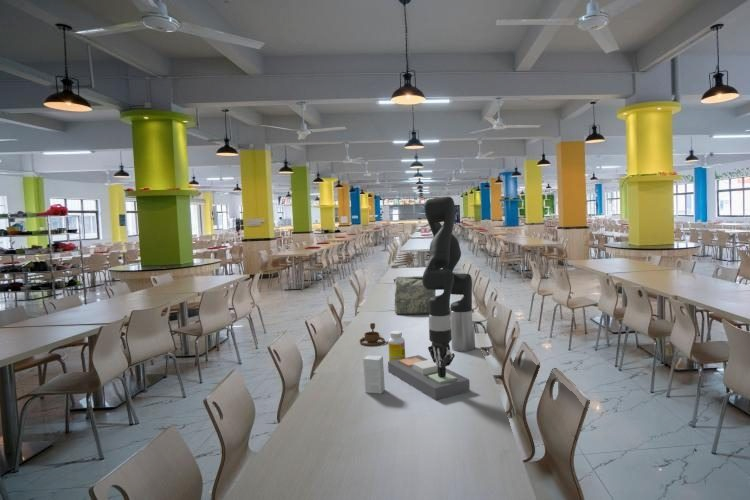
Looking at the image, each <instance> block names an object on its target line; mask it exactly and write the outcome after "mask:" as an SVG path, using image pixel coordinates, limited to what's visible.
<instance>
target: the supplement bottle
mask: <svg viewBox="0 0 750 500" xmlns="http://www.w3.org/2000/svg"><path fill="white" fill-rule="evenodd" d="M389 335H390V338H389V339H388V340H387V342H388V344H387V345H388V362H389V361H394V360H399V359H403V358H406V345H405V338H403V337H402V335H403V332H402V331H401V330H392V331H390V333H389Z"/></svg>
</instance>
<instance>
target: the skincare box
mask: <svg viewBox="0 0 750 500" xmlns="http://www.w3.org/2000/svg"><path fill="white" fill-rule="evenodd" d="M362 360H363V376H364V377H363V378H364V391H365V393H367V394H369V393H370V394H382V393H383V392H384V391H385V389H386V387H385V385H386V384H385V370H384V356H382V355H366V356H365V357H364V358H363V359H362Z"/></svg>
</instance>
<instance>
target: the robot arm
mask: <svg viewBox="0 0 750 500" xmlns="http://www.w3.org/2000/svg"><path fill="white" fill-rule="evenodd" d="M454 201H455V200H454V199H453V198H452V197H451V196H441V197H435V198H429V199H426V200H425V202H424V204H423V205H424V206H423V209H424V214H425V217H426V221H427V223H428V225H429V228H430V231H431V233H432V236H433V238H432V239H431V242H430V245H429V255H428V262H427V264H426V267H425V269H424V272H423V275H422V276H423V278H422V282H423V285H424V287H425V288H426V289H428V290H436V291H438V290H439V291H440V290H442V291H443V293H441V294H439V295H435V296H434V297H431V298H430V299H429V314H428V334H429V336H428V338H429V339H428V340H429V341H430V343H431V345H430V346H428V348H427V349H428V352H429V355H430V357H431V361H432V362H434V363H436V365H437V366H438V376H439V377H441V378H442V377H445V376H446V368H447V367H448V366H451V364H452V362H453V360H454V358H455V353H452V352H451V349H452V350H453V351H456V352H470V351H472V350H474V349H476V335H475V330H476V329H475V326H473V279H472V275H471V274H470V273H456V272H455V273H454V269H455V267H456V266H457V265H458V263H459V261H460V259H461V257H462V252H461V247H460V243H459V240H458V238H457V237H456V236H455V235H454V234H453V229H454V224H455V219H456V204H455V202H454ZM441 223H442V224H441ZM451 295H457V296H463V297H462V298H461V299H459V300H457V301H453V302H452V303H450V300H451ZM450 343H451V346H450Z"/></svg>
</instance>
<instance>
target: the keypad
mask: <svg viewBox="0 0 750 500" xmlns="http://www.w3.org/2000/svg"><path fill="white" fill-rule="evenodd" d="M412 357H416V358H418V359H420V360H422V361H425V360H429V359H428V358H426V357H424V356H422V355H419V354H417V355H413V356H409V357H405V358H403V359H407V358H412ZM399 360H402V359H399ZM399 360H394V361H389V360H388V362H387V368H388V369H387V371H388V373H389V374H392V375H393V376H394V377H396V378H398V379H399V380H402V382H404V383H406V384H408V385H409V386H411V387H413V388H414V389H416V390H418V391H419V392H421V393H422V394H424V395H426V396H427V397H430V398H431V399H432V400H434V401H438V400H442V399H446V398H449V397H451V396H452V397H453V396H456V395H459V394H460V395H461V394H463V393H467V392H470V391H471V388H470V379H469V378H468V377H465V376H463V375H461V374H459V373H457V372H455V371H452V370H450V369H449V368H447V367H446V373H448V374H450V375H452V376H454V377H456V380H454V381H450V382H446V383H442V384H438V383H436V382H434V381H432V380H430V379H428V375H432V374H437V373H438V372H435V373H431V374H427V375H421V374H419V373H417V372H416V371H414V370H413V366H412V367H406V366H405V365H403V364H401V363H399Z"/></svg>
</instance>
